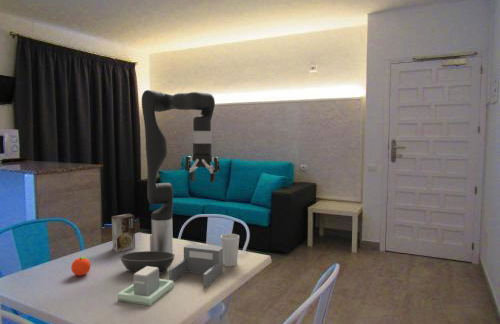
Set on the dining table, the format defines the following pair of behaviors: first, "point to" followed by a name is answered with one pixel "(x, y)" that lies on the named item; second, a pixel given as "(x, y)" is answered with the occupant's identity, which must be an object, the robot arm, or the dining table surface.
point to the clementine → (81, 266)
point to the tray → (129, 296)
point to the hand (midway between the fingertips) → (202, 181)
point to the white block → (146, 281)
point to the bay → (199, 263)
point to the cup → (230, 249)
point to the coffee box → (123, 232)
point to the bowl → (147, 260)
